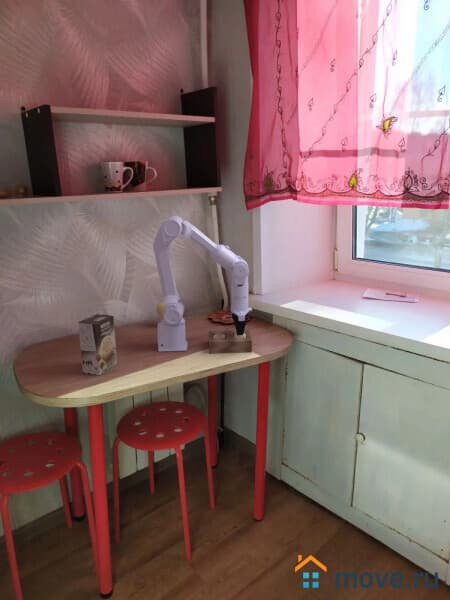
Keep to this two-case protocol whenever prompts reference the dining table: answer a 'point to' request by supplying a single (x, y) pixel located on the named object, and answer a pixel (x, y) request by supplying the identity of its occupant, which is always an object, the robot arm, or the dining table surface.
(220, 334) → the left peg
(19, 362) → the dining table surface
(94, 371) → the coffee box
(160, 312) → the light bulb
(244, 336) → the right peg
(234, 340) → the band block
